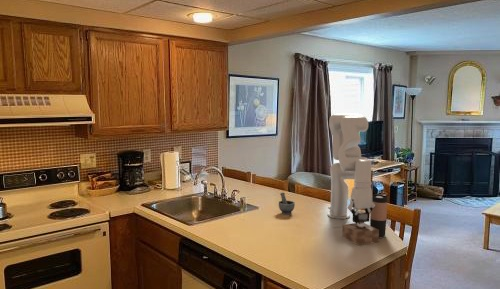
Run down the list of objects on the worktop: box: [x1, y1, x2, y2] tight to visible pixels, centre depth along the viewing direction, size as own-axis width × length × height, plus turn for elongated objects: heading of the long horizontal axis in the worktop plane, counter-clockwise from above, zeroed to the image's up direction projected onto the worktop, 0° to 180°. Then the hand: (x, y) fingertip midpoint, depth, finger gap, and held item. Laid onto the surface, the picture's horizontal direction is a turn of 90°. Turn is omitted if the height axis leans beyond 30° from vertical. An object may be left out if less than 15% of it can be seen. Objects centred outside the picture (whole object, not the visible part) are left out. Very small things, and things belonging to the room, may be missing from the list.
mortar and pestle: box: [278, 192, 296, 216], centre depth 216 cm, size 11×9×12 cm
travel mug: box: [369, 193, 388, 238], centre depth 180 cm, size 8×8×20 cm
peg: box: [357, 210, 368, 229], centre depth 174 cm, size 6×6×9 cm
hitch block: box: [341, 222, 380, 246], centre depth 175 cm, size 12×12×6 cm
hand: (360, 221), depth 174 cm, fingers closed on peg, 6 cm apart
